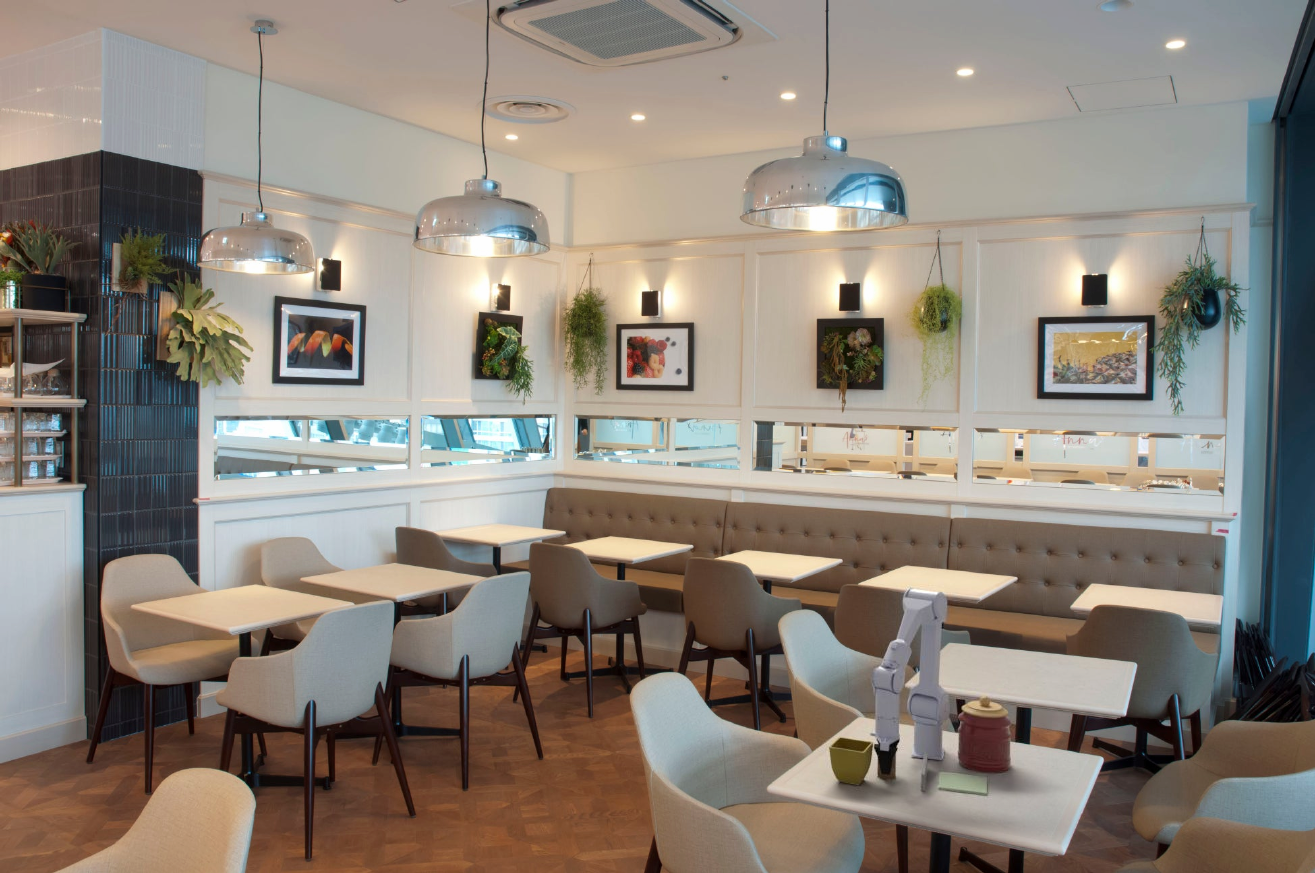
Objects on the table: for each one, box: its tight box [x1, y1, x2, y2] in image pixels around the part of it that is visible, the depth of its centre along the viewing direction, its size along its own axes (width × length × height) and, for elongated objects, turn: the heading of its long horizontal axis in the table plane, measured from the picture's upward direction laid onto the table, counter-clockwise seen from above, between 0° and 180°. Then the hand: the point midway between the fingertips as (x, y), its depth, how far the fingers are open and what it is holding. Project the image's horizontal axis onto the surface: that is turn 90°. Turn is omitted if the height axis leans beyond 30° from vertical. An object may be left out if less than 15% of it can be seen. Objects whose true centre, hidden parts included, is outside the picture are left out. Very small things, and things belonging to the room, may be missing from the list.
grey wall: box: [920, 753, 929, 792], centre depth 236 cm, size 16×1×4 cm, turn 162°
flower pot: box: [828, 736, 874, 786], centre depth 235 cm, size 9×9×9 cm
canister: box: [957, 695, 1012, 774], centre depth 247 cm, size 13×13×18 cm
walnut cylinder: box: [876, 753, 897, 780], centre depth 238 cm, size 4×4×6 cm
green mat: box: [937, 771, 988, 796], centre depth 234 cm, size 11×11×1 cm
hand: (886, 770), depth 238 cm, fingers closed on walnut cylinder, 4 cm apart
